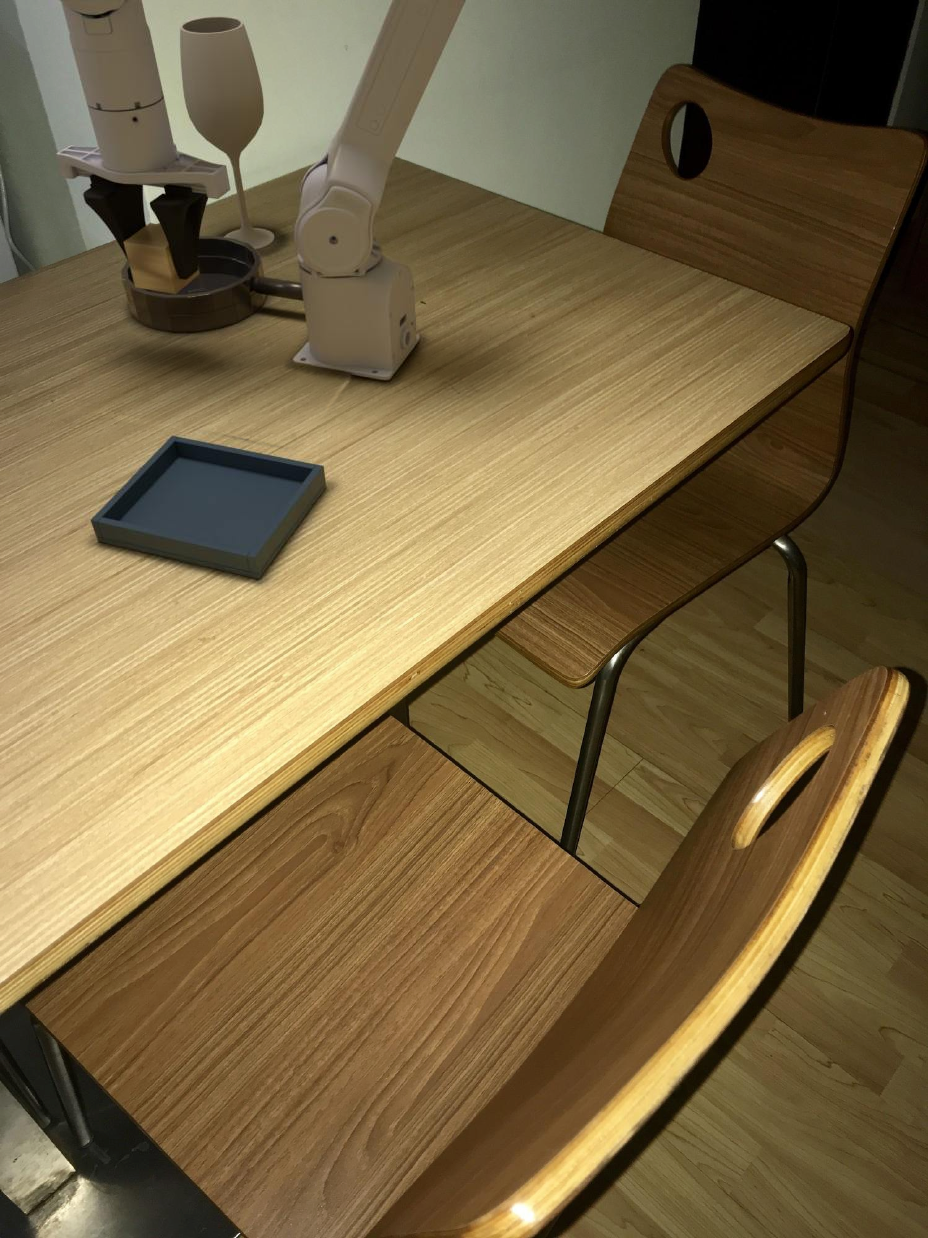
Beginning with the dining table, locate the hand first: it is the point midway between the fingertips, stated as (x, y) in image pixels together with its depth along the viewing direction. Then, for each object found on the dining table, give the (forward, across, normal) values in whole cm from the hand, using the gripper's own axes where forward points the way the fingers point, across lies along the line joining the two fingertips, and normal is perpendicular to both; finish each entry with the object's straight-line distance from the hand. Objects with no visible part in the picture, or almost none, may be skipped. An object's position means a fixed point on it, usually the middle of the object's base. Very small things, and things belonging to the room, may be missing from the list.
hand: (166, 270), depth 85 cm
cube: (+1, 0, 0) cm, 1 cm away
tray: (+8, -14, +19) cm, 25 cm away
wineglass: (+9, +6, -24) cm, 26 cm away
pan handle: (+6, -6, -10) cm, 13 cm away
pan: (+8, +4, -10) cm, 13 cm away
